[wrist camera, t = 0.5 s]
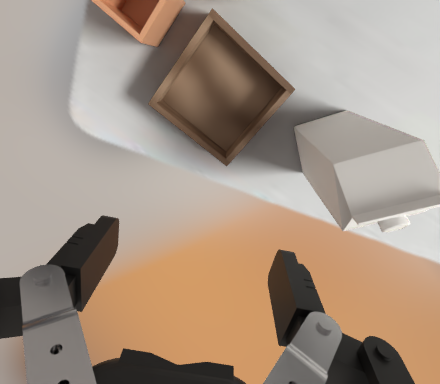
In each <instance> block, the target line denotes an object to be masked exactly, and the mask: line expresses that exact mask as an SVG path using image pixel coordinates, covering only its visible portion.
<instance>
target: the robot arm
mask: <svg viewBox="0 0 440 384" xmlns="http://www.w3.org/2000/svg"><path fill="white" fill-rule="evenodd" d="M118 233H119V219H118V218H113V217H108V216H101V217H100V218H99V219H98V221H97V222H96V223H95V224H89V223H88V224H86V225H85V226H83V227H81V228H79V229H78V230H77V231H76V232H75V233H74V234H73V236H72V237H71V238H70V239H69V240H68V241H67V243H65V244H64V245H63V247H62V248H61V249H60V250H59V251H58V252H57V253H56V254H55V255H54V257H53V258H52V259H51V260H50V261H49V262H48V263H47V264H46V265H41V266H37V267H35V268H33V269H30V270H29V271H27V272H26V273H25V274H24V275H23V276H22V277H14V278H0V339H1V338H9V337H16V336H23V342H24V354H25V366H26V378H27V384H246V383H245V382H243V381H242V380H240V379H239V378H237V377H235V376H234V374H233V370H234V368H233V366H230V365H224V364H217V363H211V362H201V363H192V364H184V365H177V364H174V363H172V362H170V361H168V360H165V359H163V358H161V357H159V356H156V355H154V354H152V353H148V352H142V351H136V350H129V349H123V351H122V354H121V357H120V358H115V359H111V360H107V361H104V362H101V363H99V364H97V365H95V366H93V367H92V365H91V361H90V358H89V354H88V350H87V346H86V343H85V339H84V335H83V332H82V328H81V324H80V321H79V317H78V313H77V311H80V312H82V311H83V309H84V307H85V305H86V304H87V302H88V300H89V299H90V297H91V295H92V293H93V292H94V290H95V288H96V287H97V285H98V283H99V282H100V280H101V278H102V276H103V275H104V273H105V271H106V269H107V268H108V266H109V265H110V263H111V261H112V259H113V258H114V256H115V254H116V251H117V247H118ZM268 287H269V293H270V299H271V305H272V310H273V316H274V321H275V327H276V333H277V338H278V344H279V346H286V349H285V350H284V352H283V354H282V355H281V356H280V358H279V360H278V361H277V363H276V364H275V366H274V368H273V369H272V371H271V372H270V374H269V375H268V377H267V378H266V380H265V382H264V383H263V384H415V383H414V381H413V379H412V378H411V376H410V374H409V372H408V370H407V368H406V366H405V364H404V362H403V360H402V359H401V357H400V355H399V354H398V352H397V351H396V350H395V349H394V348H393V347H392V346H391V345H390V344H389V343H387V342H386V341H384V340H382V339H380V338H378V337H374V336H369V337H367V338H365V340H364V341H363V342H360V341H358V340H356V339H354V338H352V337H350V336H348V335H345V334H343V333H342V331H341V329H340V327H339V325H338V324H337V323H336V321H335V320H333V319H332V318H331V317H330V316H328V315H326V314H325V311H324V308H323V306H322V303H321V301H320V298H319V296H318V293H317V290H316V289H315V285H314V283H313V280H312V278H311V275H310V272H309V271H308V270H307V269H306V268H305V266H304V265H303V264H298V262H297V259H296V256H295V253H294V252H290V251H284V250H278V251H277V253H276V256H275V258H274V261H273V264H272V266H271V269H270V272H269V275H268Z"/></svg>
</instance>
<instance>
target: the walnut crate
mask: <svg viewBox="0 0 440 384" xmlns="http://www.w3.org/2000/svg"><path fill="white" fill-rule="evenodd" d="M294 90H295V88H294V87H293V86H292V85H290V84H289V83H288V82H287V81H286V80H285V79H284V78H283V77H282V76H281V75H280V74H279V73H278V72H277V71H276V70H275V69H274V68H273V67H272V66H271V65H270V64H269V63H268V62H267V61H266V60H265V59H264V58H263V57H262V56H261V55H260V54H259V53H258V52H257V51H256V50H255V49H254V48H253V47H251V46H250V45H249V44H248V43H247V42H246V41H245V40H244V39H243V38H242V37H241V36H240V35H239V34H238V33H237V32H236V31H235V30H234V29H233V28H232V27H231V26H230V25H229V24H228V23H227V22H226V21H225V20H224V19H223V18H222V17H221V16H220V15H219V14H218V13H217V12H216V11H215V10H214V9H213V8H212V10H211V11H210V13H209V14H208V16H207V17H206V19H205V20H204V22H203V23H202V25H201V26H200V28H199V29H198V30H197V32H196V33H195V35H194V36H193V38H192V39H191V41H190V42H189V44H188V45H187V47H186V48H185V50H184V51H183V53H182V54H181V56H180V57H179V59H178V60H177V62H176V63H175V65H174V66H173V68H172V69H171V71H170V72H169V74H168V75H167V76H166V78H165V79H164V81H163V82H162V84H161V85H160V87H159V88H158V90H157V91H156V93H155V94H154V96H153V97H152V99H151V100H150V102H149V103H148V104H149V105H150V106H151V107H152V108H154V109H155V110H156V111H157V112H159V113H160V114H161V115H163V116H164V117H165V118H166V119H168V120H169V121H170V122H171V123H173V124H174V125H175V126H176V127H178V128H179V129H180V130H182V131H183V132H184V133H185V134H187V135H188V136H189V137H190V138H192V139H193V140H194V141H195V142H197V143H198V144H199V145H200V146H202V147H203V148H204V149H206V150H207V151H208V152H209V153H211V154H212V155H213V156H214V157H216V158H217V159H218V160H219V161H221V162H222V163H223V164H224V165H226V166H227V165H228V164H229V163H230V162H231V161H232V160H233V159H234V158H235V156H236V155H237V154H238V153H239V152H240V151H241V150H242V149H243V148H244V146H245V145H246V144H247V143H248V142H249V141H250V140H251V139H252V137H253V136H254V135H255V134H256V133H257V132H258V131H259V130H260V128H261V127H262V126H263V125H264V124H265V123H266V122H267V121H268V119H269V118H270V117H271V116H272V115H273V114H274V113H275V112H276V111H277V109H278V108H279V107H280V106H281V105H282V104H283V103H284V102H285V100H286V99H287V98H288V97H289V96H290V95H291V94H292V93H293V91H294Z"/></svg>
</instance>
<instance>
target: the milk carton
mask: <svg viewBox="0 0 440 384" xmlns="http://www.w3.org/2000/svg"><path fill="white" fill-rule="evenodd" d="M294 131H295V136H296V141H297V146H298V151H299V156H300V161H301V166H302V172H303V174H304V176H305V177H306V179H307V180H308V182H309V183H310V184H311V186H312V187H313V189H314V190H315V192H316V193H317V195H318V196H319V197H320V199H321V200H322V202H323V203H324V205H325V206H326V208H327V209H328V211H329V212H330V213H331V215H332V216H333V218H334V219H335V221H336V222H337V224H338V225H339V226H340V228H341V229H342V231H347V230H351V229H355V228H360V227H364V226H368V225H372V224H377V223H378V225H379V226H380V229H381V231H382V232H385V233H386V232H392V231H396V230H400V229H403V228H405V227H407V226H409V225H410V222H409V220H408V218H407V216H411V215H415V214H419V213H423V212H425V211H426V210H428V209H432V208H436V207H440V172H439V170H438V168H437V166H436V164H435V162H434V160H433V158H432V156H431V154H430V152H429V149H428V147H427V145H426V143H425V141H424V140H422V139H419V138H417V137H414V136H411V135H409V134H406V133H404V132H401V131H399V130H396V129H394V128H391V127H388V126H386V125H383V124H381V123H378V122H376V121H373V120H371V119H368V118H365V117H363V116H360V115H358V114H355V113H353V112H350V111H343V112H340V113H336V114H333V115H330V116H326V117H323V118H320V119H316V120H313V121H310V122H307V123H303V124H300V125H297V126H294Z"/></svg>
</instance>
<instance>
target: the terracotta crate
mask: <svg viewBox="0 0 440 384" xmlns="http://www.w3.org/2000/svg"><path fill="white" fill-rule="evenodd" d="M91 1H93V2H94V3H95V4H96V5H97V6H98V7H100V8H101V9H102V10H103V11H104V12H105V13H107V14H108V15H109V16H110V17H111V18H113V19H114V20H115V21H116V22H117V23H118V24H120V25H121V26H122V27H123V28H124V29H125V30H127V31H128V32H129V33H130V34H131V35H132V36H134V37H135V38H136V39H137V40H138V41H139V42H141V43H144V44H148V45H152V46H156V47H158V46H159V44H160V43H161V41H162V40H163V38H164V36H165V35H166V33H167V32H168V30H169V28H170V27H171V25H172V24H173V22H174V21H175V19H176V17H177V16H178V14H179V13H180V11H181V9H182V8H183V6H184V5H185V2H184V1H183V0H91Z"/></svg>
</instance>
